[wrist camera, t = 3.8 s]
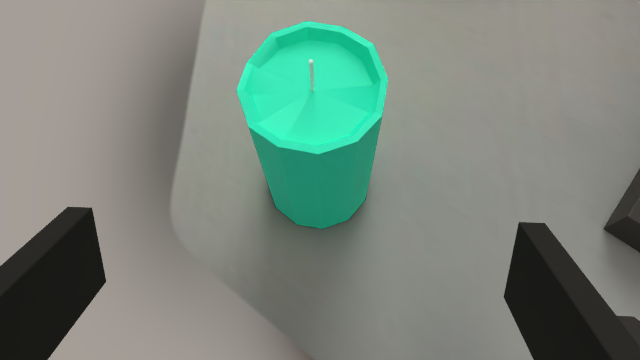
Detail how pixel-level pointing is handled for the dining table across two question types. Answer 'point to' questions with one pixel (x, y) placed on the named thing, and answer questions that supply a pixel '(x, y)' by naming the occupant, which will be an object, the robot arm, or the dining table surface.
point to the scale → (627, 216)
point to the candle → (315, 119)
